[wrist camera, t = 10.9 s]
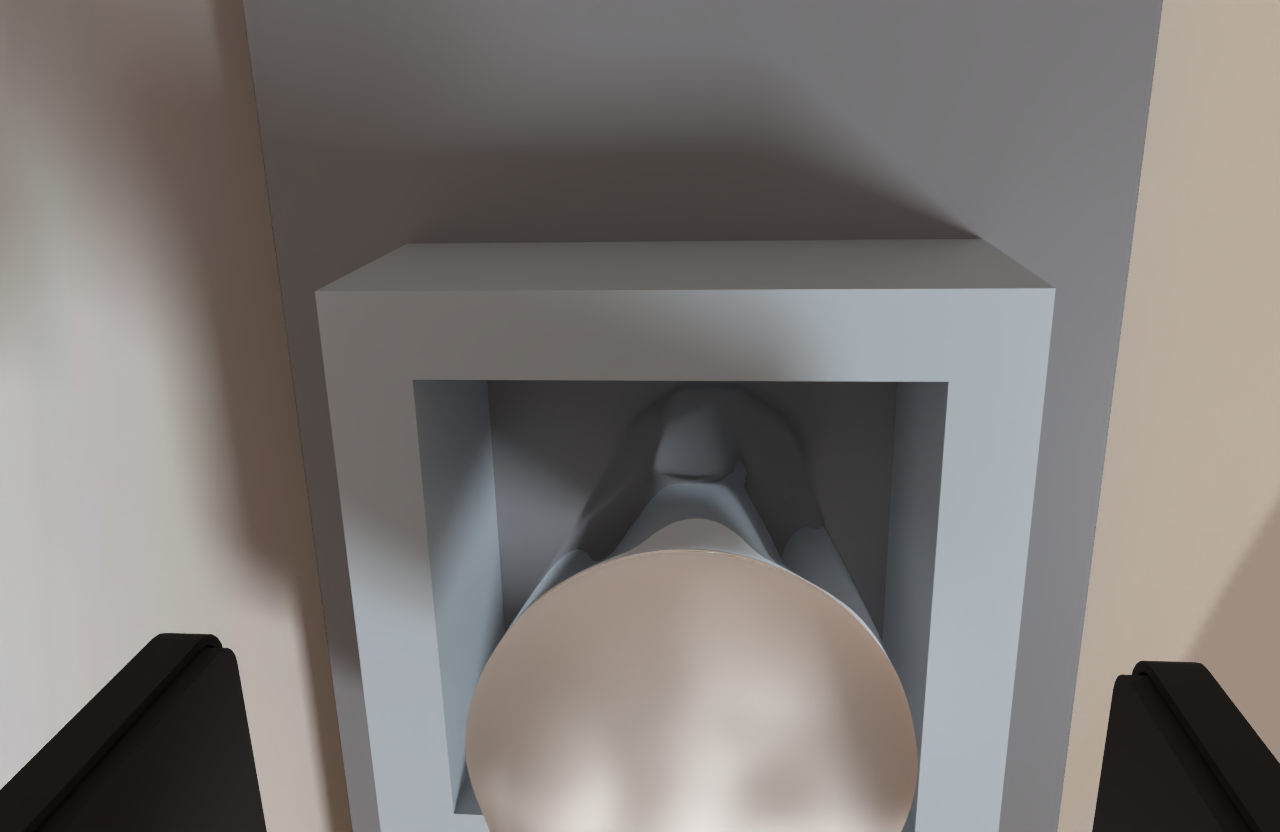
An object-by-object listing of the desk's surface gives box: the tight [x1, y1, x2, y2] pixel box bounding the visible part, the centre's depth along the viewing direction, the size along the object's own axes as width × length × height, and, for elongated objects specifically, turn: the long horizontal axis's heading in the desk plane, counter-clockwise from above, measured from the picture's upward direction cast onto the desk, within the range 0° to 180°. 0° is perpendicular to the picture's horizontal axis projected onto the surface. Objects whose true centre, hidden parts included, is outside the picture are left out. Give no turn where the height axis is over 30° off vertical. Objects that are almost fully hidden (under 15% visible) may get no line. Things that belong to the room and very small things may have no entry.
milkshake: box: [465, 387, 918, 832], centre depth 13 cm, size 4×5×10 cm
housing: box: [242, 0, 1163, 832], centre depth 17 cm, size 20×14×5 cm
